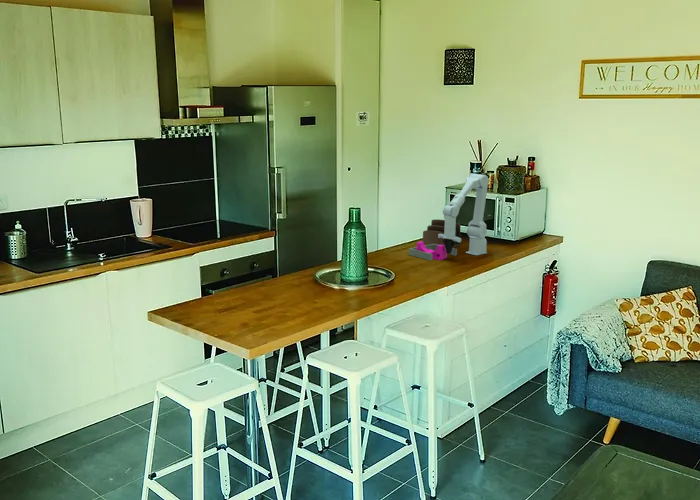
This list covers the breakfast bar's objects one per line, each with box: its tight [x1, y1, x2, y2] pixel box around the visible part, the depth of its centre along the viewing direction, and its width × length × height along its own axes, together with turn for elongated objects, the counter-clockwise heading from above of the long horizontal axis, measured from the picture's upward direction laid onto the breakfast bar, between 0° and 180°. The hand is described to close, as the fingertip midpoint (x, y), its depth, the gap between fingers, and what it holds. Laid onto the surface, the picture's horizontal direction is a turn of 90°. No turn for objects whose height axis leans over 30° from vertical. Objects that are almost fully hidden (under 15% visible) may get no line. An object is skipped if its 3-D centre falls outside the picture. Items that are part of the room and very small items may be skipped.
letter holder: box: [422, 219, 461, 249], centre depth 396 cm, size 10×20×14 cm, turn 50°
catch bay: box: [408, 244, 458, 262], centre depth 371 cm, size 20×17×4 cm
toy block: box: [416, 240, 448, 261], centre depth 366 cm, size 15×6×8 cm, turn 56°
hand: (448, 253), depth 362 cm, fingers closed
